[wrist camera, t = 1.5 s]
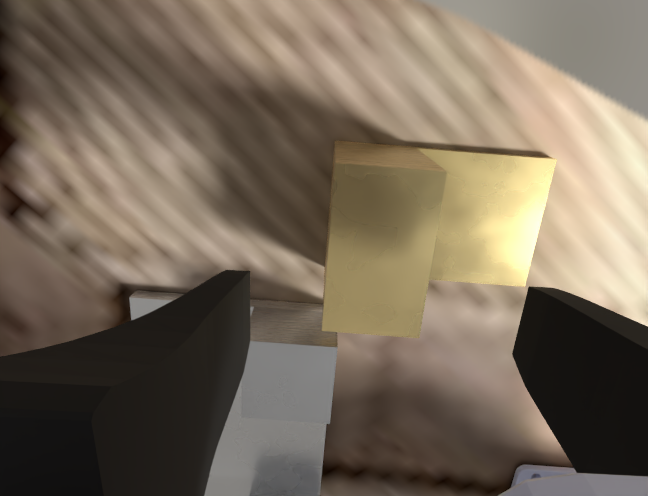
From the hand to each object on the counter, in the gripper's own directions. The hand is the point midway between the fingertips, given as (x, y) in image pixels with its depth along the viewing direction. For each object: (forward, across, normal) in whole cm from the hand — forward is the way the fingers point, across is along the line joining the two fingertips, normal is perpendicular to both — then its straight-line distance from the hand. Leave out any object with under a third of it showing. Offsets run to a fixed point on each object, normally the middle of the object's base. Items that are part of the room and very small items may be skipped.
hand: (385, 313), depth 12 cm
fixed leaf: (+10, +6, +13) cm, 17 cm away
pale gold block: (+10, -3, 0) cm, 10 cm away
